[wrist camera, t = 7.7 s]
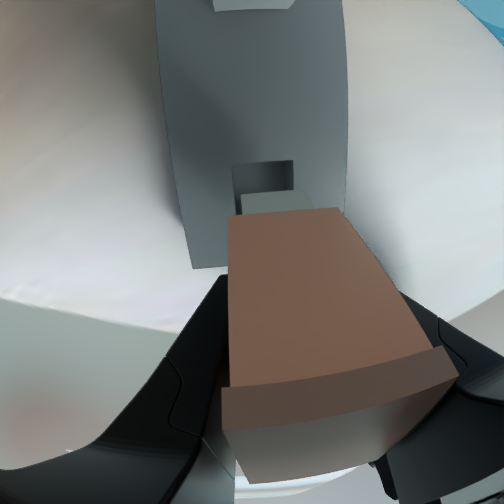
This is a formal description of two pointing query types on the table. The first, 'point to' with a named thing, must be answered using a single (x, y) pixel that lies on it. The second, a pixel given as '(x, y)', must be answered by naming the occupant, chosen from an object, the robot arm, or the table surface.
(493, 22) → the data package
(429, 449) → the robot arm
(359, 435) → the brown rectangular block
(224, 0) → the grey plug
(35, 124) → the table surface
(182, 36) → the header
